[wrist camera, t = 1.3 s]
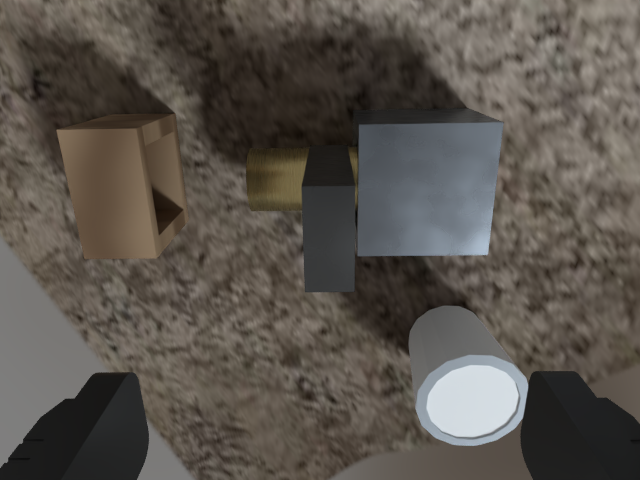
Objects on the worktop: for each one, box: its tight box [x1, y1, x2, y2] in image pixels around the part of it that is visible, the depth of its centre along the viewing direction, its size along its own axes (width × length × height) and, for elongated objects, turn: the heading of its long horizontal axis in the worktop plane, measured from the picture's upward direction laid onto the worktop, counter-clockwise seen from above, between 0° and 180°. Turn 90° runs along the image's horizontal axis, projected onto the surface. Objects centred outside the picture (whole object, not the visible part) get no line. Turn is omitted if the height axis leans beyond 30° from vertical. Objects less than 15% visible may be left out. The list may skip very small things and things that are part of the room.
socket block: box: [57, 113, 189, 259], centre depth 28 cm, size 4×7×6 cm, turn 1°
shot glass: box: [408, 306, 528, 446], centre depth 32 cm, size 7×7×7 cm
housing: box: [353, 108, 503, 256], centre depth 27 cm, size 7×7×6 cm
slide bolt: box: [246, 145, 358, 292], centre depth 24 cm, size 13×4×12 cm, turn 91°
